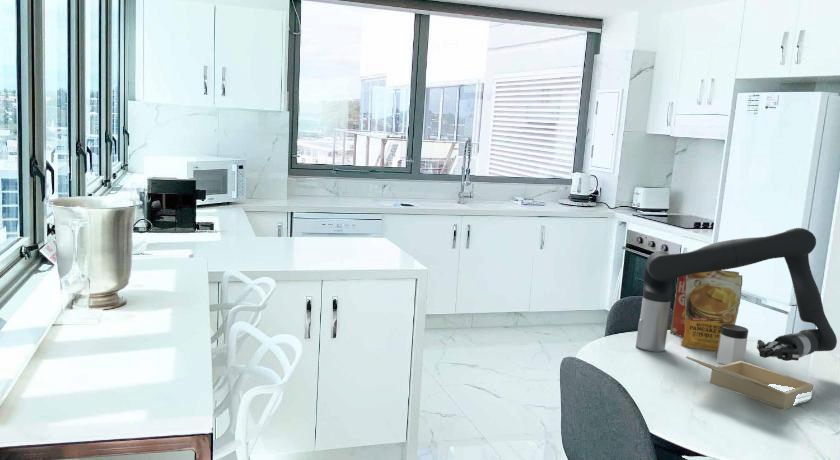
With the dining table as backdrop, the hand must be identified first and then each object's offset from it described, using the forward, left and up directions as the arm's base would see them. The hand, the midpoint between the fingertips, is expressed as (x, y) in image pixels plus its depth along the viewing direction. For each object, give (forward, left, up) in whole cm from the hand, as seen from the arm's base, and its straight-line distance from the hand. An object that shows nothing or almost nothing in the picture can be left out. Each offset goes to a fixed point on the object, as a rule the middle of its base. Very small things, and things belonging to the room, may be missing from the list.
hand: (762, 353), depth 201 cm
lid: (-7, -12, -4) cm, 15 cm away
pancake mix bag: (-15, +38, -12) cm, 43 cm away
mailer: (+1, +1, -11) cm, 12 cm away
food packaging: (-20, +52, -12) cm, 57 cm away
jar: (-7, +25, -12) cm, 29 cm away
